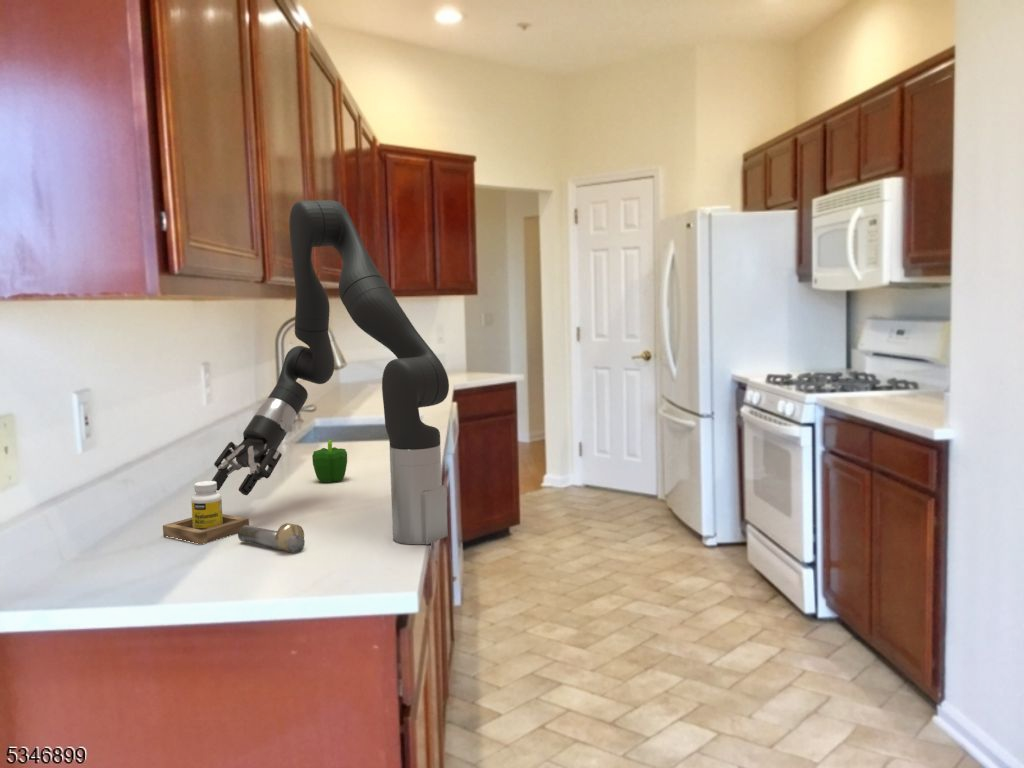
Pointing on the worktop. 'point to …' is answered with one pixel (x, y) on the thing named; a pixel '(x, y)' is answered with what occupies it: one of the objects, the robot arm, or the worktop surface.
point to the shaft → (275, 537)
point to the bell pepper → (330, 463)
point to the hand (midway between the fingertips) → (227, 490)
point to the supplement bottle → (206, 505)
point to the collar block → (188, 533)
